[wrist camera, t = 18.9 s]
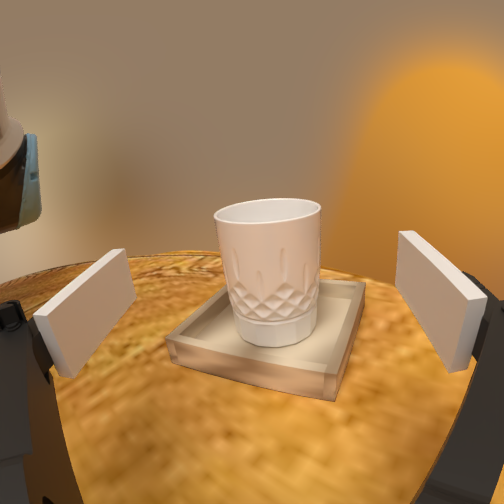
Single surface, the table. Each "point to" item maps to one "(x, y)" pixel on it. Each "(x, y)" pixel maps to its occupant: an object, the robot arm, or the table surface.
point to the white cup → (271, 267)
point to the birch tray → (270, 358)
